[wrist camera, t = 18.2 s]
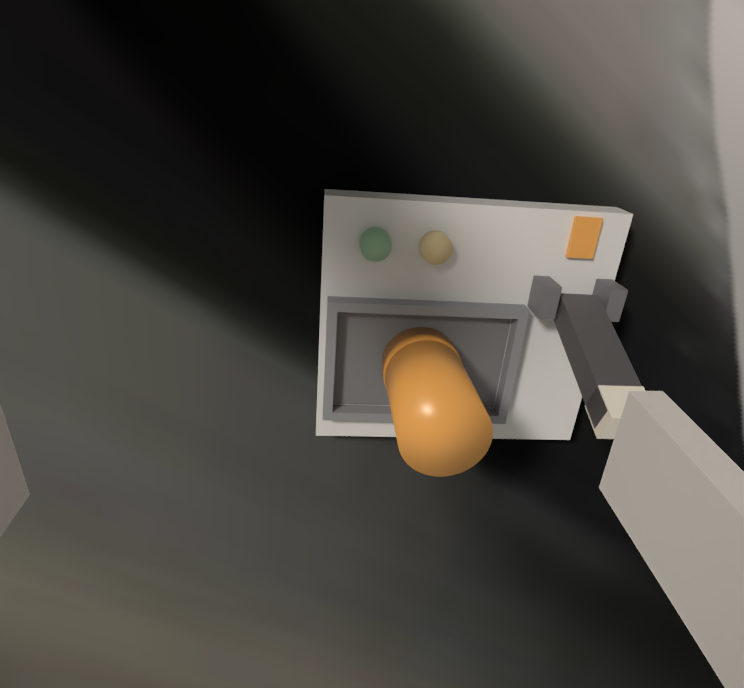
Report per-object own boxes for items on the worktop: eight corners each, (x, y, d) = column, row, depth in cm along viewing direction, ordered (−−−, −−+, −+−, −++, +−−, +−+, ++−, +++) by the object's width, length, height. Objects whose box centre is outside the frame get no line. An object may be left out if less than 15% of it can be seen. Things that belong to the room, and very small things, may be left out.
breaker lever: (557, 285, 32) (611, 418, 26) (595, 287, 33) (658, 419, 26) (547, 306, 34) (597, 438, 27) (584, 308, 34) (641, 439, 28)
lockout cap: (384, 324, 33) (402, 393, 26) (462, 327, 34) (502, 396, 26) (377, 393, 35) (392, 476, 28) (450, 395, 36) (485, 478, 28)
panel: (324, 188, 32) (324, 202, 28) (616, 207, 33) (651, 222, 30) (316, 419, 38) (315, 453, 35) (559, 424, 40) (581, 457, 37)
